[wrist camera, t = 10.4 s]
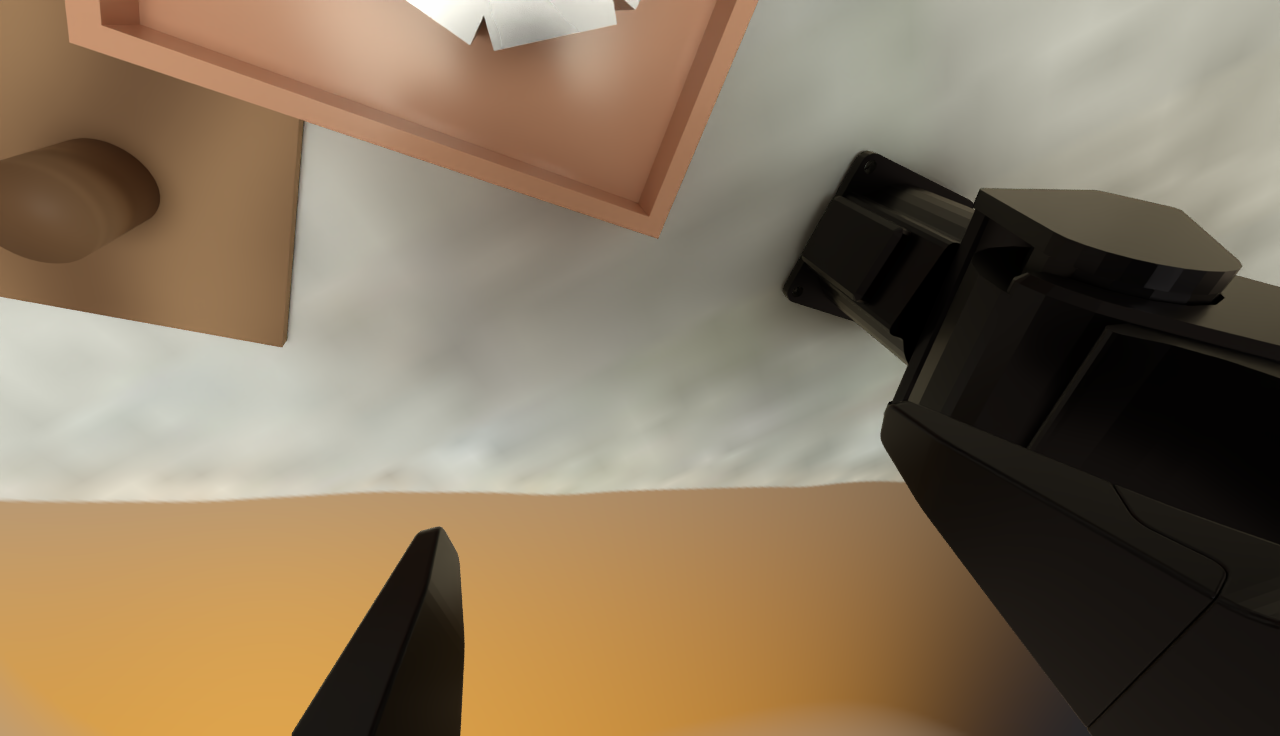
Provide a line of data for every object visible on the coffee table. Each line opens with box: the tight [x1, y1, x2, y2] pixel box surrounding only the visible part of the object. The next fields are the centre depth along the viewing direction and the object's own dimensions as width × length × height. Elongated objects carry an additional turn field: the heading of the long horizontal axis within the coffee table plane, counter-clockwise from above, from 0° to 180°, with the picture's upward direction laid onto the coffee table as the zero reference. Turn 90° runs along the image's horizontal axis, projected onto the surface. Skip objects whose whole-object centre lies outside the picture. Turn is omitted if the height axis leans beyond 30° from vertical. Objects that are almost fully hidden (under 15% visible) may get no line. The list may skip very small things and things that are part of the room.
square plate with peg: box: [0, 0, 304, 347], centre depth 14 cm, size 9×9×4 cm
